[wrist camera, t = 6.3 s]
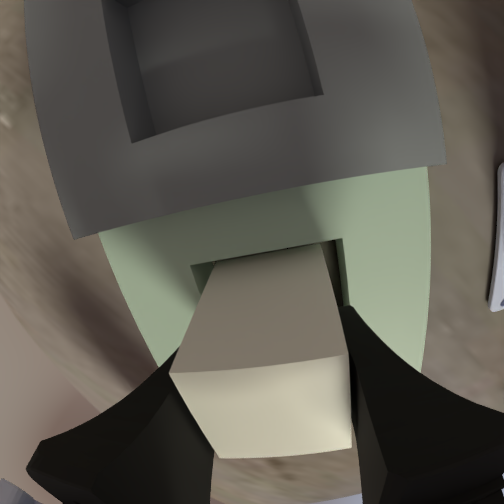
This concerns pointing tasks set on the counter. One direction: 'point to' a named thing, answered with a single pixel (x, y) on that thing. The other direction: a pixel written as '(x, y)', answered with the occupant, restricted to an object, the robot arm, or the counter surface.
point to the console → (243, 145)
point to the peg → (267, 358)
